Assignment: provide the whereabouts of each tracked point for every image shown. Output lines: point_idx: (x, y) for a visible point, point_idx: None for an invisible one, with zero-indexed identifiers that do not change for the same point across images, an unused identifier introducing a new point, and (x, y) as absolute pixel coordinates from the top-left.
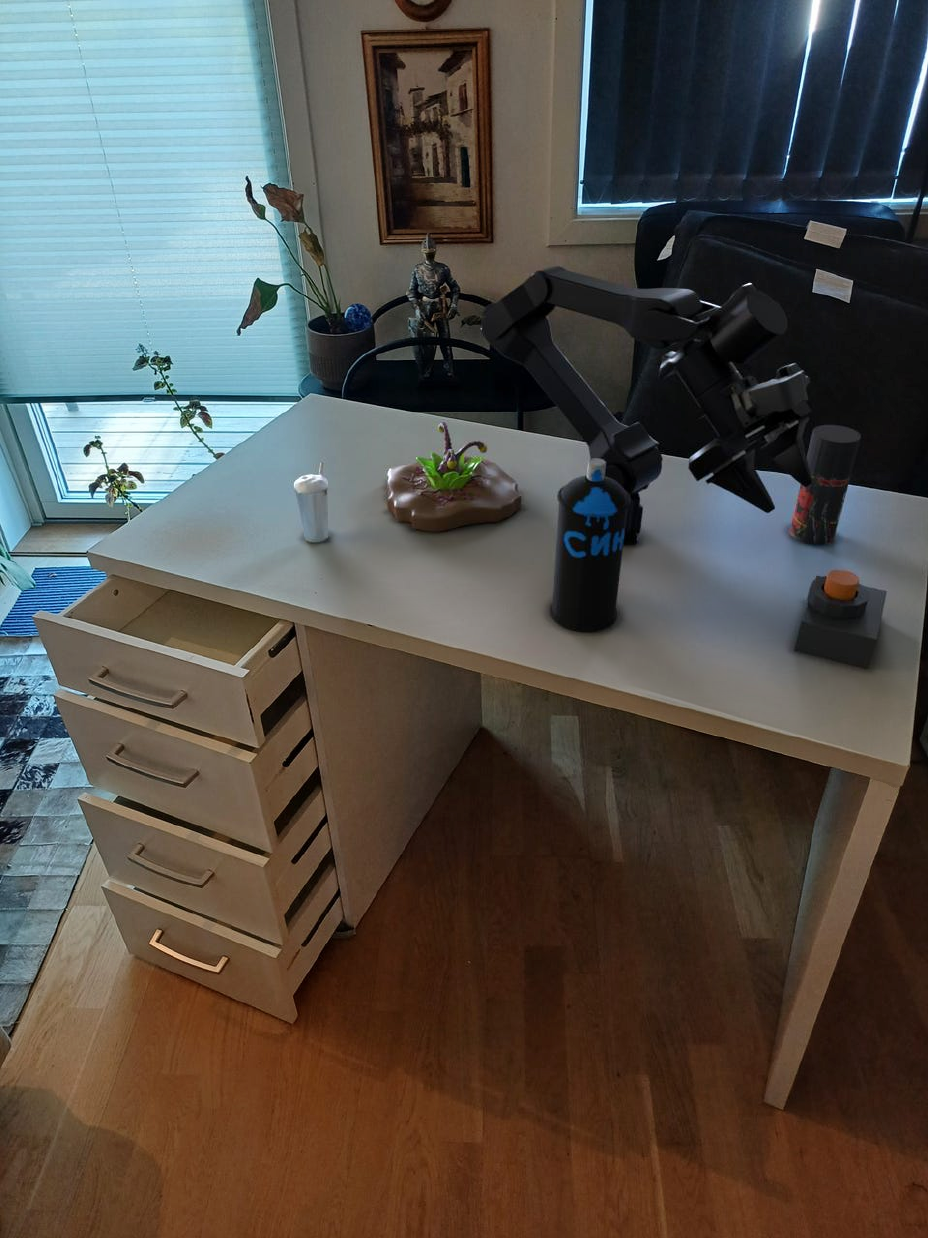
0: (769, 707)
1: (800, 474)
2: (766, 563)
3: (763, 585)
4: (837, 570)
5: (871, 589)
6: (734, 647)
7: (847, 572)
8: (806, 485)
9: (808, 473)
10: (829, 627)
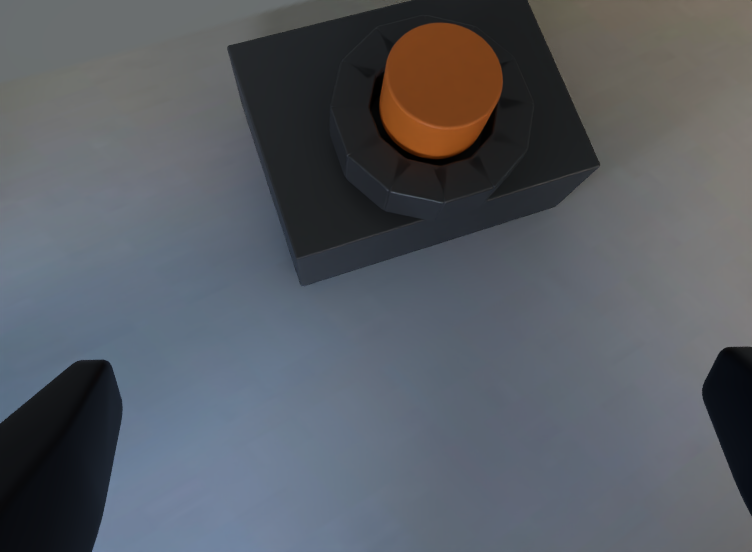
0: None
1: (79, 485)
2: (146, 532)
3: (299, 454)
4: (414, 109)
5: (253, 84)
6: (664, 332)
7: (400, 75)
8: (118, 399)
9: (59, 412)
10: (565, 90)
